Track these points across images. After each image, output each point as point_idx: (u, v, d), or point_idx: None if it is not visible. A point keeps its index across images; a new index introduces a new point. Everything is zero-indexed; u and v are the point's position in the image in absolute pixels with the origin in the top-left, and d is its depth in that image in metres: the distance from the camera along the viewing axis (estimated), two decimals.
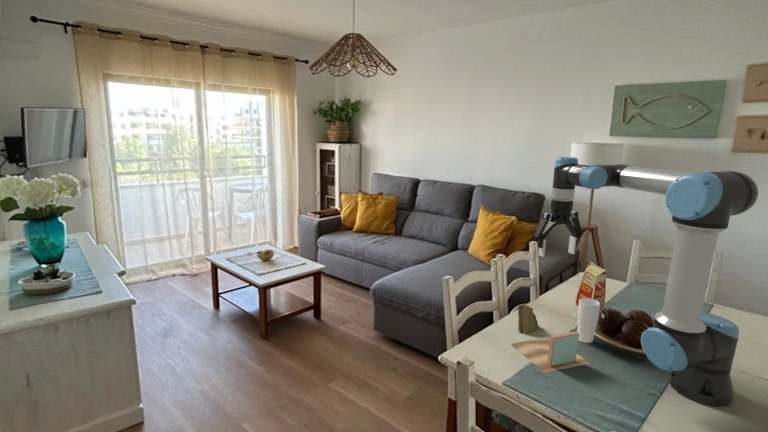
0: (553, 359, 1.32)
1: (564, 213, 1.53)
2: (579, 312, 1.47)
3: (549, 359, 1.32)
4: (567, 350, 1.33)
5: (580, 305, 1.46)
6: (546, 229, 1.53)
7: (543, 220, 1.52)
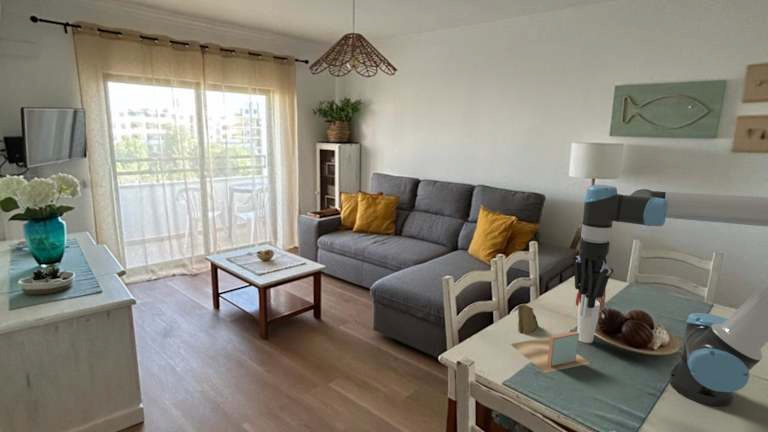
0: (553, 359, 1.32)
1: None
2: None
3: (549, 359, 1.32)
4: (567, 350, 1.33)
5: None
6: None
7: None
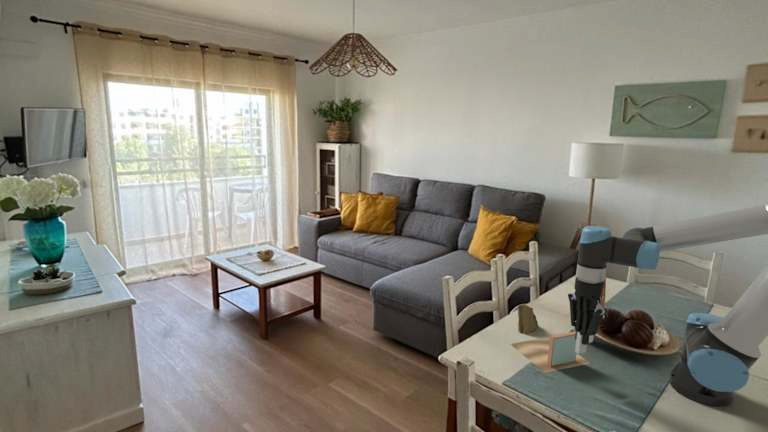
0: (553, 359, 1.32)
1: None
2: None
3: (549, 359, 1.32)
4: (567, 350, 1.33)
5: None
6: None
7: None
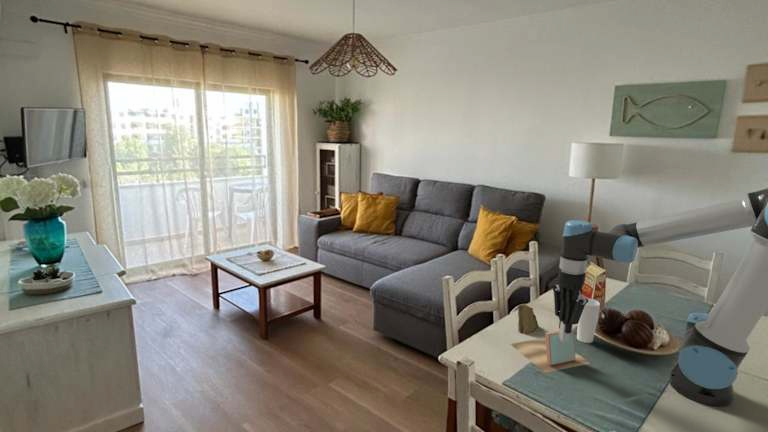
0: (552, 357, 1.32)
1: None
2: None
3: (548, 358, 1.33)
4: (565, 348, 1.34)
5: None
6: None
7: None
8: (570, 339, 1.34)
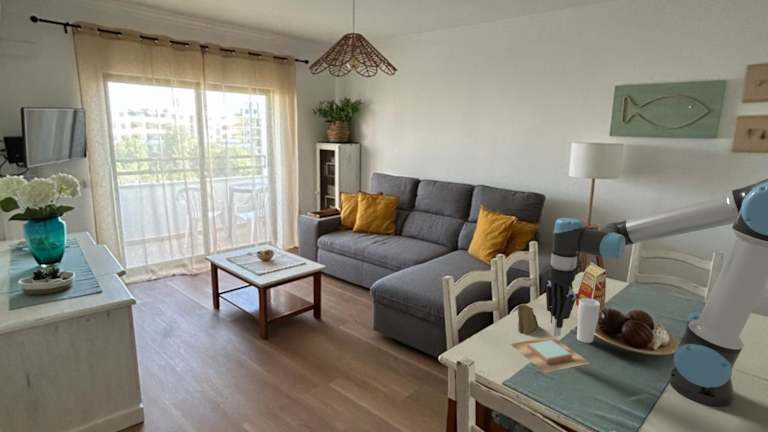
0: (544, 354, 1.36)
1: None
2: (579, 312, 1.47)
3: (542, 358, 1.35)
4: (552, 348, 1.39)
5: (580, 305, 1.46)
6: None
7: None
8: (553, 344, 1.42)
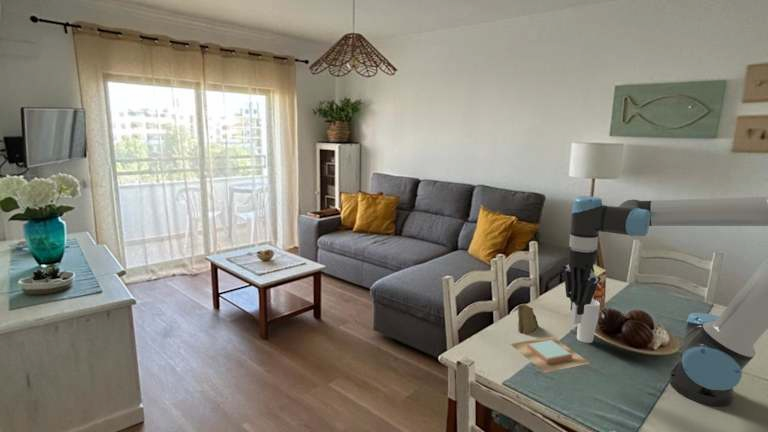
0: (544, 354, 1.36)
1: None
2: None
3: (542, 358, 1.35)
4: (552, 348, 1.39)
5: None
6: None
7: None
8: (553, 344, 1.42)
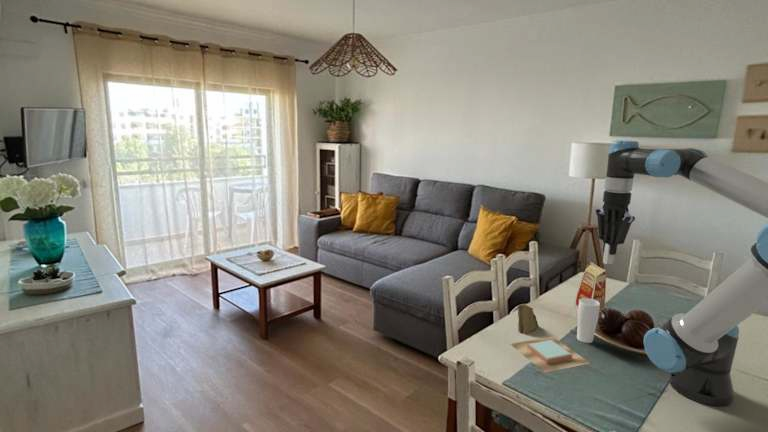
0: (544, 354, 1.36)
1: None
2: (579, 312, 1.47)
3: (542, 358, 1.35)
4: (552, 348, 1.39)
5: (580, 305, 1.46)
6: None
7: None
8: (553, 344, 1.42)
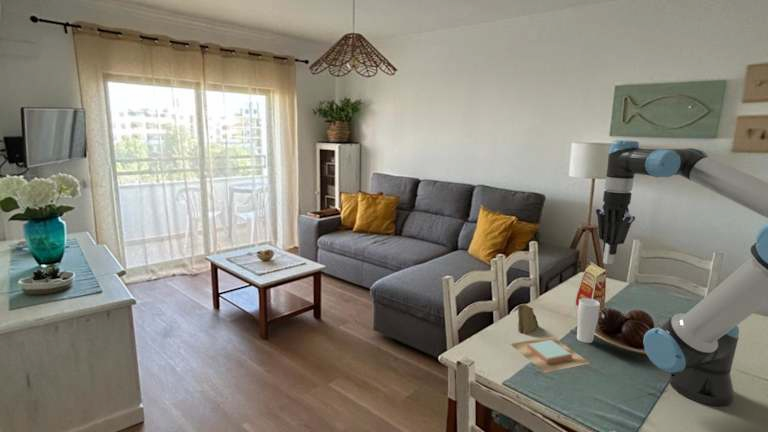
0: (544, 354, 1.36)
1: None
2: (579, 312, 1.47)
3: (542, 358, 1.35)
4: (552, 348, 1.39)
5: (580, 305, 1.46)
6: None
7: None
8: (553, 344, 1.42)
